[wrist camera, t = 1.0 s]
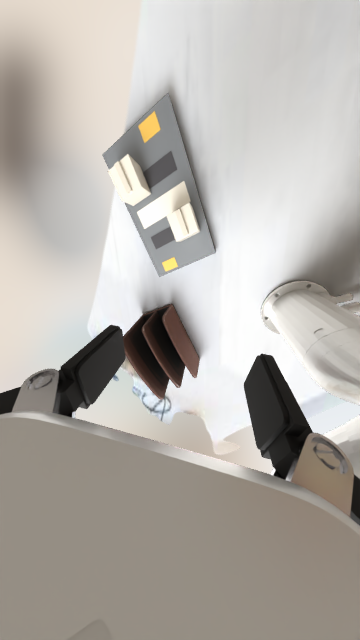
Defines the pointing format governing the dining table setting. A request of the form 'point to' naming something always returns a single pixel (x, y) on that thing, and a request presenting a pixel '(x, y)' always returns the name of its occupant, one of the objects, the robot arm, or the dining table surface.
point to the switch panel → (163, 188)
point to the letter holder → (160, 349)
